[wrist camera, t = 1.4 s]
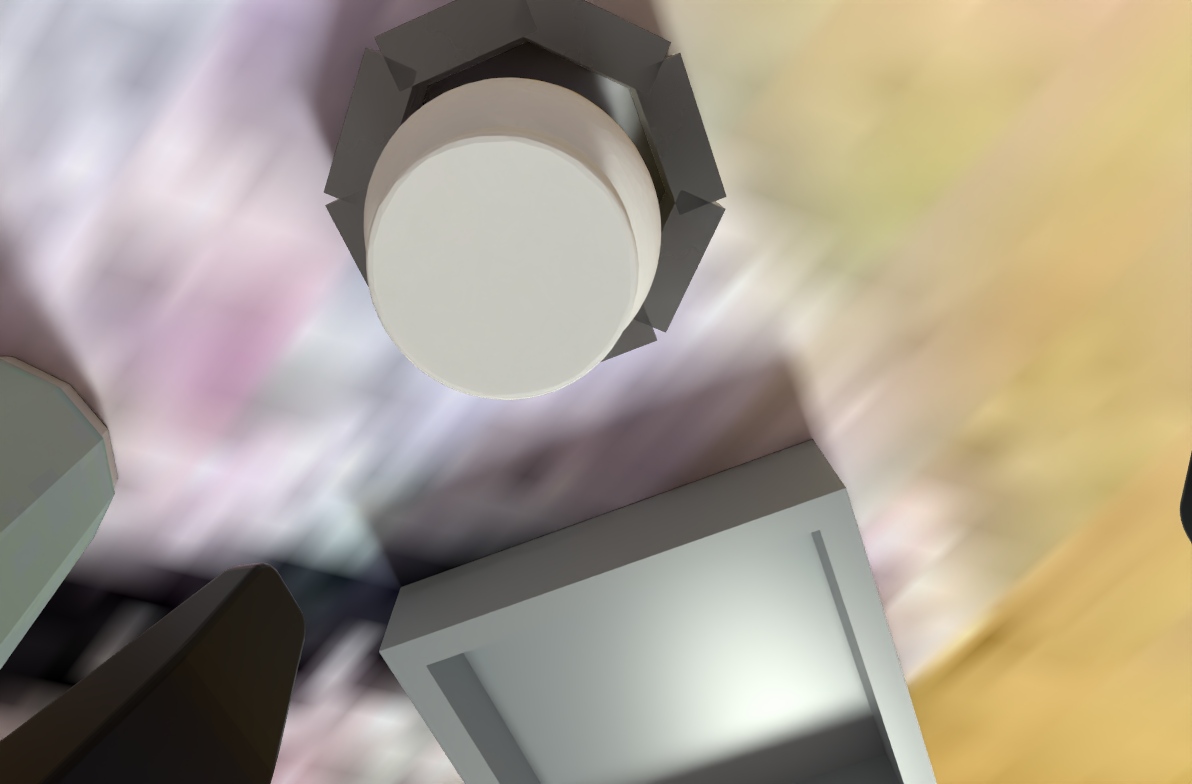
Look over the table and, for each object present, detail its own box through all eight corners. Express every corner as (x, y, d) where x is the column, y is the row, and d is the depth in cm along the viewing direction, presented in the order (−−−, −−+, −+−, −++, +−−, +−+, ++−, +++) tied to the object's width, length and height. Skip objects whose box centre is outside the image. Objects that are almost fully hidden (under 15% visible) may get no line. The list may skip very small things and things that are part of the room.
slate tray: (565, 857, 30) (564, 937, 27) (400, 587, 25) (379, 651, 22) (911, 751, 28) (949, 824, 25) (812, 439, 23) (845, 488, 20)
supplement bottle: (603, 309, 21) (627, 477, 12) (412, 262, 21) (286, 403, 11) (657, 112, 19) (734, 136, 10) (448, 53, 19) (332, 22, 10)
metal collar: (451, 395, 22) (440, 423, 20) (293, 87, 19) (262, 88, 17) (743, 281, 21) (760, 300, 19) (629, -65, 18) (636, -82, 16)
